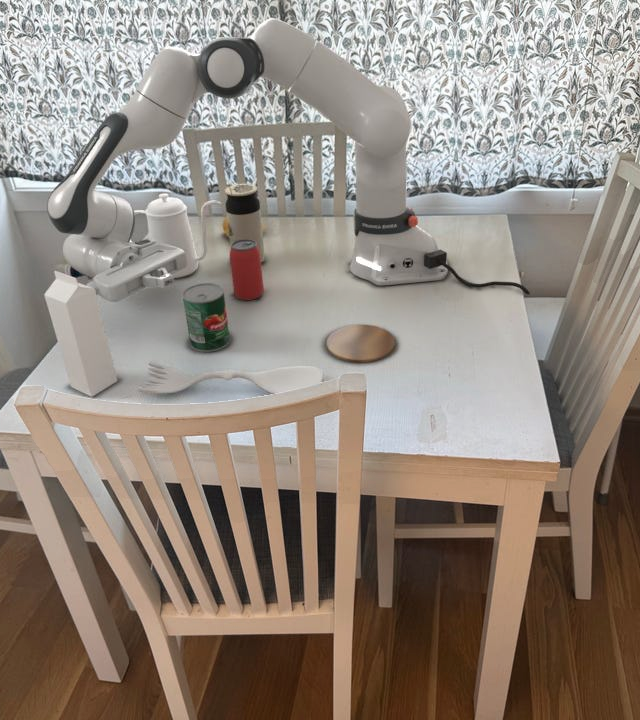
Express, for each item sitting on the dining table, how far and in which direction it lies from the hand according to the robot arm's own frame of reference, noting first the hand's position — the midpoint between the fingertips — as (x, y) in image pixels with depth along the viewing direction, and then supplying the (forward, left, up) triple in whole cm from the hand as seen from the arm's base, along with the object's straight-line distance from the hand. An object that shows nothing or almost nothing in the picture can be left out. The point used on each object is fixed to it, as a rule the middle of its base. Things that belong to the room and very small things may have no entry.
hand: (168, 281), depth 133 cm
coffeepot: (+7, -28, -11) cm, 31 cm away
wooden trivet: (-38, +6, -11) cm, 39 cm away
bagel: (-6, -50, -11) cm, 52 cm away
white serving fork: (-16, +21, -11) cm, 28 cm away
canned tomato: (-8, +5, -11) cm, 14 cm away
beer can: (-13, -15, -11) cm, 23 cm away
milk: (+10, +20, -11) cm, 25 cm away
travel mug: (-10, -33, -11) cm, 36 cm away
